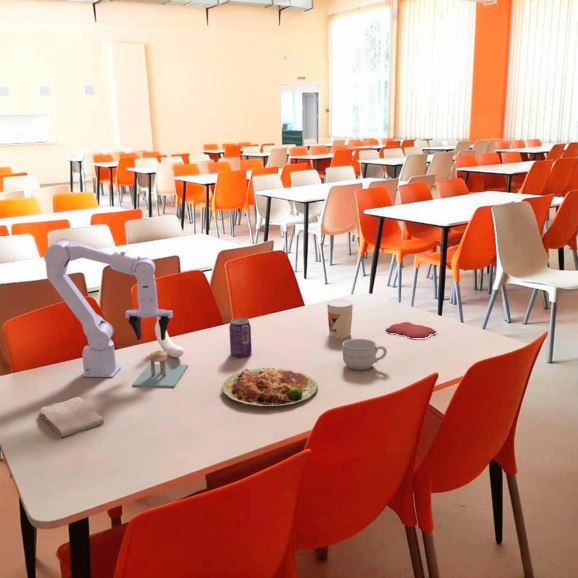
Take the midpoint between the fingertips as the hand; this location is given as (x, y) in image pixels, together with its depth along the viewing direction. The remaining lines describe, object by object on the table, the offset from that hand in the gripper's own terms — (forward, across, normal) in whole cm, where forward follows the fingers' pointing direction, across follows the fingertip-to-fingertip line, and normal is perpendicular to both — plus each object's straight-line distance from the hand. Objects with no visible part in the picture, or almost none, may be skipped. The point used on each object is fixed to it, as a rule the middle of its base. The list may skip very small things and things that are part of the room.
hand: (151, 338), depth 195 cm
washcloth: (+11, -12, -34) cm, 38 cm away
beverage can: (+11, +26, +14) cm, 31 cm away
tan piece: (+10, +4, -5) cm, 12 cm away
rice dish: (+11, +39, -13) cm, 43 cm away
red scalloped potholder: (+12, +85, +39) cm, 94 cm away
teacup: (+11, +67, +5) cm, 68 cm away
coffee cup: (+11, +59, +35) cm, 69 cm away
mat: (+10, +4, -5) cm, 12 cm away
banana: (+11, +2, +12) cm, 16 cm away
